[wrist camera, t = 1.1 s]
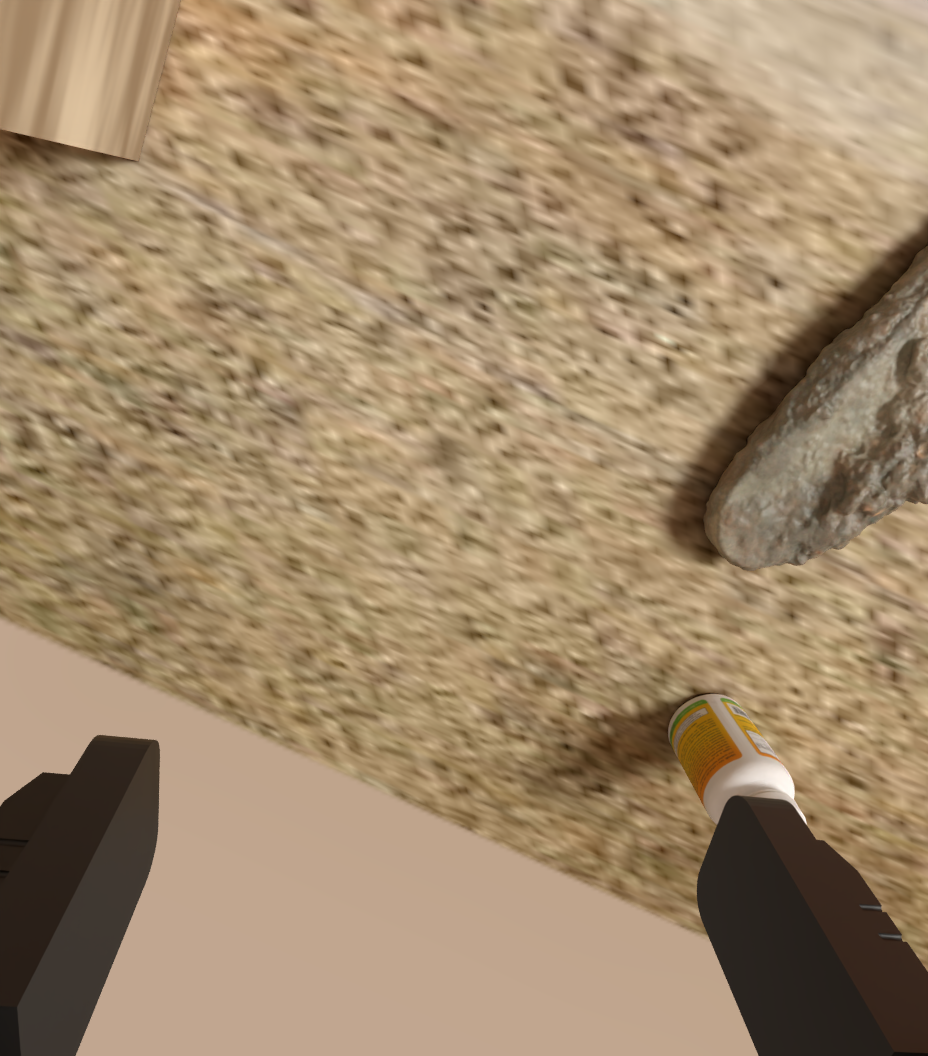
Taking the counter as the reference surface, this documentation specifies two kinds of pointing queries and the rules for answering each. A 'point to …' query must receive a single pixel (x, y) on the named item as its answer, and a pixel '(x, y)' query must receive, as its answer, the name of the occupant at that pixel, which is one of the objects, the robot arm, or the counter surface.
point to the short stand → (83, 70)
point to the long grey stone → (835, 442)
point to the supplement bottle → (726, 754)
